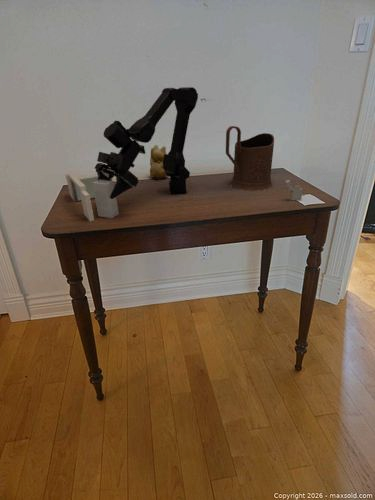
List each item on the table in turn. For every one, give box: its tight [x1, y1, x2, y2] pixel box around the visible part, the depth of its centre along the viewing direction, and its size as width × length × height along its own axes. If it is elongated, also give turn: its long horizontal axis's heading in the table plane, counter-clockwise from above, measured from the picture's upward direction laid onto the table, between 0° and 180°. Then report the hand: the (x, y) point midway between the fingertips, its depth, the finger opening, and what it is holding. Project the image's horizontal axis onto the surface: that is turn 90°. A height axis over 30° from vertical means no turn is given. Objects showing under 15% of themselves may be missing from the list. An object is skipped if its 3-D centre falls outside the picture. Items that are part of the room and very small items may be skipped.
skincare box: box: [92, 180, 119, 219], centre depth 106 cm, size 6×4×12 cm
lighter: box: [284, 178, 304, 202], centre depth 115 cm, size 7×2×8 cm, turn 101°
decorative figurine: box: [149, 144, 168, 180], centre depth 145 cm, size 10×8×15 cm
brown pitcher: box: [225, 125, 275, 192], centre depth 129 cm, size 18×24×25 cm
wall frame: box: [65, 172, 95, 222], centre depth 114 cm, size 32×2×11 cm, turn 30°
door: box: [71, 175, 114, 202], centre depth 124 cm, size 16×2×8 cm, turn 120°
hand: (103, 195), depth 105 cm, fingers open, 9 cm apart
